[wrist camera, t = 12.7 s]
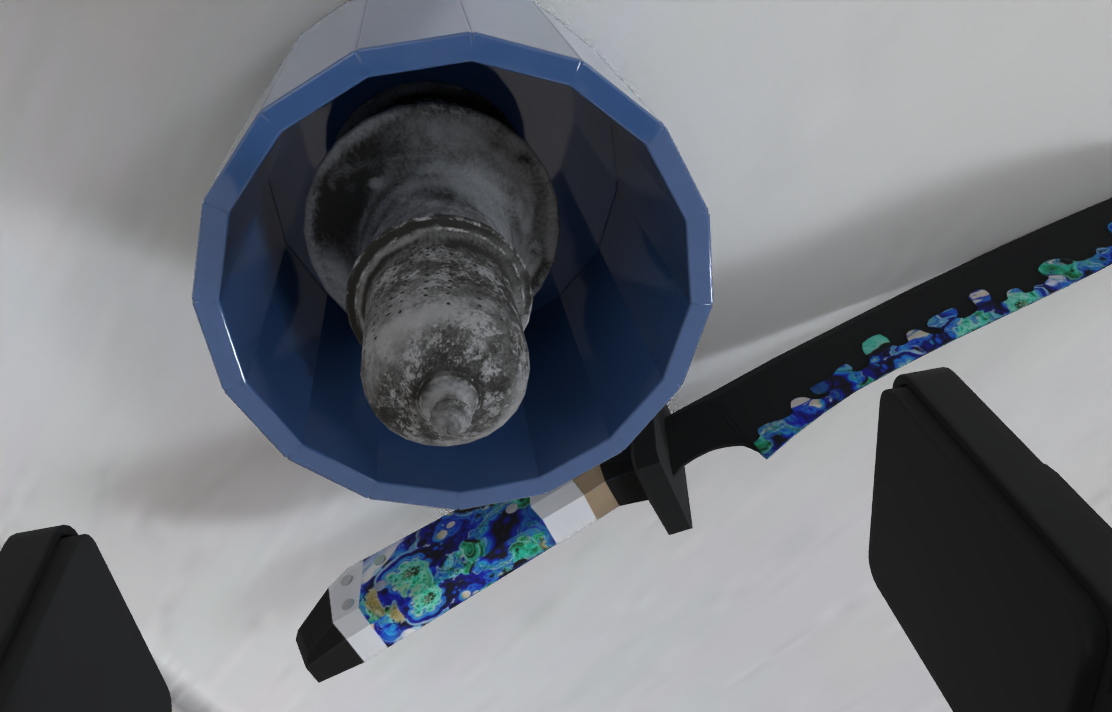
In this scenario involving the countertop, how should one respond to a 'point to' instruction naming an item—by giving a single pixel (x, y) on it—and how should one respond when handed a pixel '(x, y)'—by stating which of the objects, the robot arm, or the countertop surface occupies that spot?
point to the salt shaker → (434, 255)
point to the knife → (689, 443)
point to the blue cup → (558, 307)
